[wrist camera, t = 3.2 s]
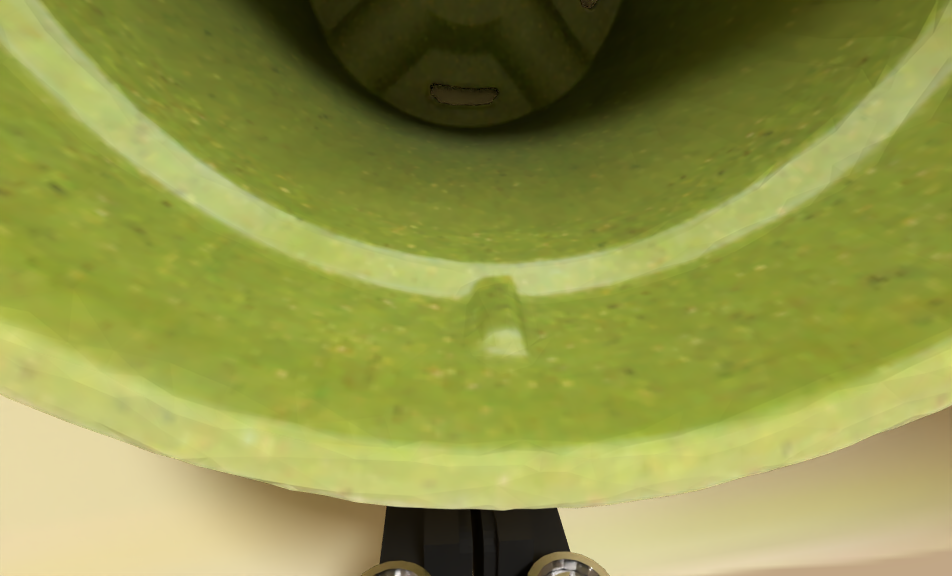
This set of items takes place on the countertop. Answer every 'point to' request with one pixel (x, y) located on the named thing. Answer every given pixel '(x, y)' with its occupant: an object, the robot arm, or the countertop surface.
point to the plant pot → (478, 237)
